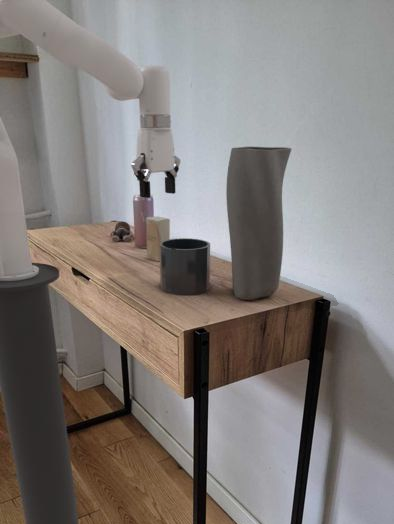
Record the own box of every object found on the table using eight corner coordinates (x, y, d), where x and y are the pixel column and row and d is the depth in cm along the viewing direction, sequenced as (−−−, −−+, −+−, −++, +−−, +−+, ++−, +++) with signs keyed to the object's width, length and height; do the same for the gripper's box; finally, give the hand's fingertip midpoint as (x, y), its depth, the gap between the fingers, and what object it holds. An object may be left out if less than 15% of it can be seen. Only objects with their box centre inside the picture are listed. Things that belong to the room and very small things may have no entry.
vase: (249, 308, 99) (258, 149, 86) (212, 293, 108) (216, 147, 95) (291, 297, 105) (306, 148, 92) (253, 283, 114) (262, 145, 101)
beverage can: (151, 243, 151) (149, 193, 144) (157, 247, 146) (155, 196, 139) (132, 245, 149) (130, 194, 142) (138, 249, 144) (135, 197, 137)
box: (146, 258, 134) (145, 217, 130) (157, 255, 137) (156, 215, 132) (159, 261, 131) (158, 220, 126) (170, 259, 134) (170, 218, 129)
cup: (188, 298, 104) (188, 252, 100) (150, 288, 110) (149, 244, 106) (219, 286, 112) (220, 243, 108) (182, 277, 118) (181, 236, 114)
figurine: (134, 246, 153) (136, 233, 161) (134, 231, 150) (135, 219, 158) (108, 246, 153) (110, 233, 161) (106, 231, 150) (109, 219, 158)
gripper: (167, 123, 128) (169, 190, 135) (119, 123, 116) (124, 197, 123) (189, 123, 124) (189, 192, 131) (141, 123, 112) (145, 200, 119)
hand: (158, 195), depth 127 cm, fingers open, 9 cm apart
